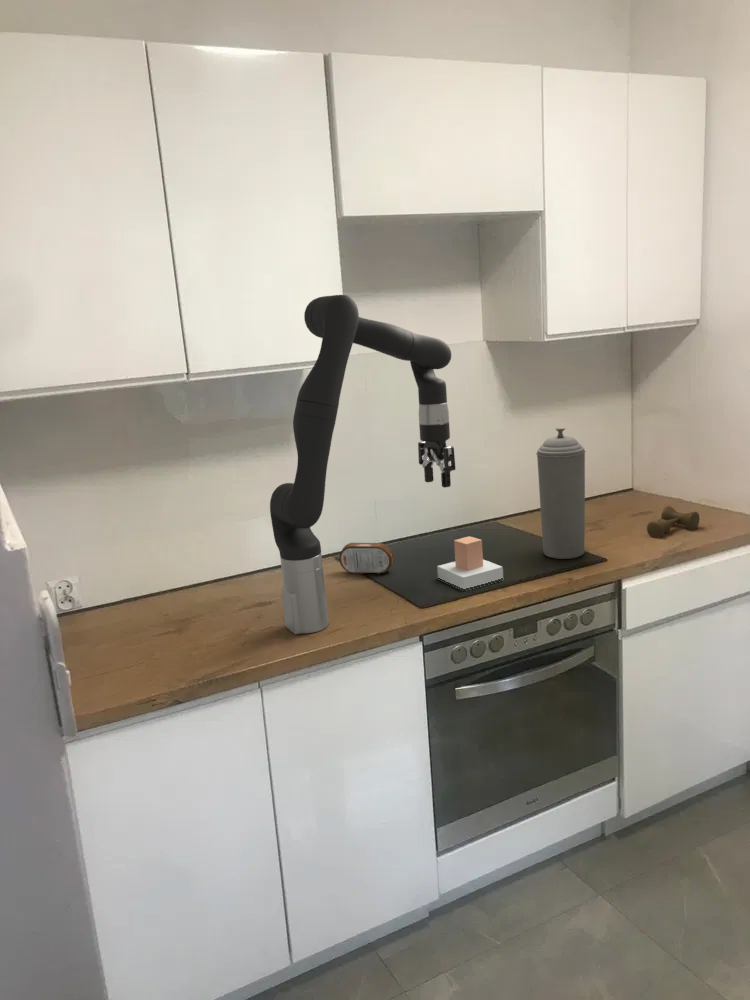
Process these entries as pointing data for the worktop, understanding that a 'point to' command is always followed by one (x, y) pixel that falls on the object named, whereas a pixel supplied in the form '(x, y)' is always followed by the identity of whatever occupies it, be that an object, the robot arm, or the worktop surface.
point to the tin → (366, 558)
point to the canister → (562, 496)
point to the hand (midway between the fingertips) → (437, 484)
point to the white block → (470, 574)
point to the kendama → (672, 522)
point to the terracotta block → (468, 553)
